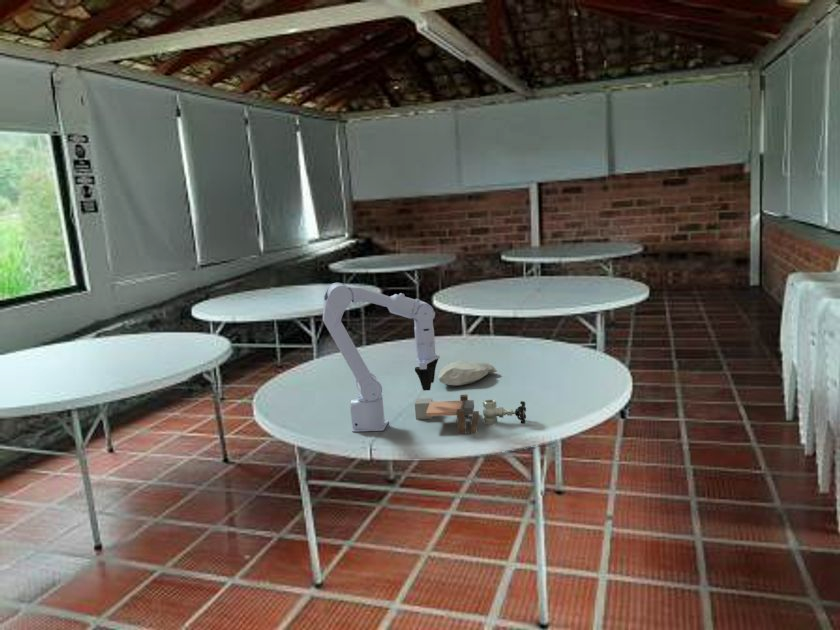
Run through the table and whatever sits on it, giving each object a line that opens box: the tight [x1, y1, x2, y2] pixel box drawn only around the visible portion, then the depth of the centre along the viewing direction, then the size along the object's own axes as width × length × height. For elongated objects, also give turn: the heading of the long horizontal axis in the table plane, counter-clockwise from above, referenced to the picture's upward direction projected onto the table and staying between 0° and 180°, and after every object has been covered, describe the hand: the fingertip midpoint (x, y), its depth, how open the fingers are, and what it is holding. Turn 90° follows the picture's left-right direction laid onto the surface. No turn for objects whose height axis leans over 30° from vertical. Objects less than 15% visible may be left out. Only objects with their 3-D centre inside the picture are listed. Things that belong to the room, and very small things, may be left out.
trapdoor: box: [426, 399, 475, 417], centre depth 190 cm, size 13×10×2 cm
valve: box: [482, 398, 527, 426], centre depth 188 cm, size 7×7×12 cm
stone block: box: [414, 397, 434, 420], centre depth 200 cm, size 5×5×5 cm
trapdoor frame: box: [456, 394, 480, 435], centre depth 190 cm, size 5×15×6 cm, turn 172°
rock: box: [437, 359, 498, 386], centre depth 235 cm, size 19×7×25 cm
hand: (428, 386), depth 197 cm, fingers open, 7 cm apart
